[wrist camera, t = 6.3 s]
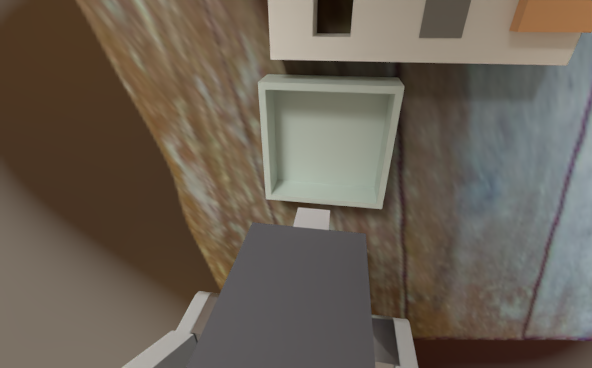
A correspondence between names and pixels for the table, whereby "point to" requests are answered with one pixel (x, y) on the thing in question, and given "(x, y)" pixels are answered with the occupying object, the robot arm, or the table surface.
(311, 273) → the block
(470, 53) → the power strip
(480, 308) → the table surface
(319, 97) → the tray
